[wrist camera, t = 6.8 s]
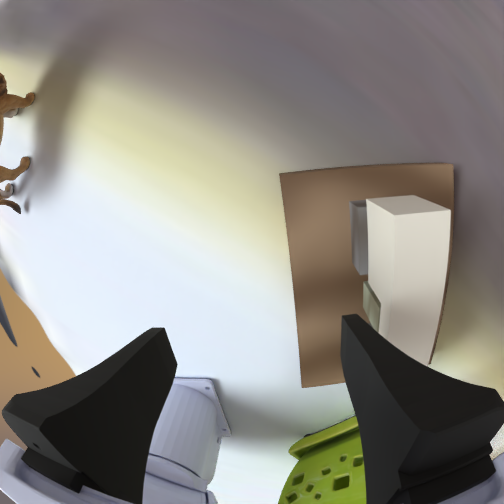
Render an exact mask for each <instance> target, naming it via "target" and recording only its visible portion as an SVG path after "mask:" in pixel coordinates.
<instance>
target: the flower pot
mask: <svg viewBox="0 0 504 504" xmlns="http://www.w3.org/2000/svg"><path fill="white" fill-rule="evenodd" d="M288 452H289V454H290V455H292V456H293V457H295V458H296V459H298V460H299V461H298V462H297V464H296V465H295V467H294V468H293V470H292V472H291V473H290V475H289V477H288V479H287V481H286V483H285V485H284V488H283V490H282V493H281V496H280V499H279V502H278V504H366V483H365V471H364V461H363V452H362V445H361V438H360V431H359V426H358V422H357V418H356V416H354V417H352V418H350V419H348V420H345V421H343V422H341V423H339V424H336V425H334V426H332V427H330V428H327V429H325V430H323V431H320V432H318V433H315V434H313V435H310V434H309V435H305V436H304V438H303V439H301V440H299V441H298V442H296V443H295V444H294V445H293V446H291V448H290V449H289V451H288Z"/></svg>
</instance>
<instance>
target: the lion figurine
mask: <svg viewBox="0 0 504 504" xmlns="http://www.w3.org/2000/svg"><path fill="white" fill-rule="evenodd" d="M6 87H7V86H6V80H5V78H4V75H2V74H1V73H0V145H1V141H2V135H3V126H4V119H3V117H8V118H12V117H13V116H15V115H16V114H17V112H18V108H25V107H27V106H29V105H31V103H32V102H33V101H34V98H35V96H34V93H31V92H30V93H28V94H27V95H26V98H22V97H19V96H17V95H12V94H7V88H6ZM29 164H30V159H29V157H23V158H22V159H21V162H20V166H19V167H17V168H16V169H13V170H11V169H8V168H5V167H3V166H0V183H1V182H3V181H5V180H12V181H13V180H15V179H16V178H17V177H18V176H19V175H20V174H21V173H23V172H24V171H26V170H27V169H28V167H29ZM12 193H13V186H12V185H11V184H10V183H8V184H7V186H6V187H5V191H2V190H1V189H0V205H7V206H10V207H11V208H13V210H15V211H16V212H17V213H19V214H21V208H20V206H19V205H18V204H17V203H15V202H13V201H9V200H5V199H6V198H9V197H10V196H11V195H12Z"/></svg>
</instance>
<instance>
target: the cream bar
mask: <svg viewBox="0 0 504 504" xmlns="http://www.w3.org/2000/svg"><path fill="white" fill-rule="evenodd" d="M366 204H367V223H368V283H369V285H370V286H371V288H372V290H373V291H374V293H375V294H376V296H377V298H378V299H379V301H380V303H381V311H380V323H379V334H380V335H381V336H383V337H384V338H385V339H386V340H387V341H389V342H390V343H391V344H393V345H394V346H395V347H397V348H398V349H400V350H401V351H402V352H404V353H405V354H407V355H408V356H410V357H411V358H413V359H415V360H416V361H418V362H420V363H422V364H423V365H425V366H427V367H428V363H429V360H430V356H431V352H432V348H433V344H434V340H435V336H436V331H437V327H438V322H439V317H440V312H441V306H442V300H443V294H444V288H445V280H446V273H447V264H448V253H449V241H450V221H451V210H449V209H447V208H445V207H442V206H440V205H438V204H435V203H433V202H430V201H428V200H425V199H423V198H420V197H417V196H415V195H408V196H395V197H383V198H371V199H366Z"/></svg>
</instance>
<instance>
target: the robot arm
mask: <svg viewBox="0 0 504 504" xmlns="http://www.w3.org/2000/svg"><path fill="white" fill-rule="evenodd" d="M340 357H341V363H342V369H343V374H344V378H345V382H346V385H347V388H348V391H349V395H350V398H351V401H352V404H353V408H354V411H355V415H356V418H357V422H358V426H359V431H360V438H361V445H362V452H363V461H364V471H365V483H366V504H504V452H503V453H502V454H500V455H499V456H497V457H496V458H495V459H493V460H491V457H490V455H489V454H491V453H492V451H493V449H492V446H491V444H490V441H491V440H492V439H493V437H494V436H495V435H496V433H497V432H498V431H499V429H500V428H501V427H502V425H503V423H504V402H503V400H502V398H501V397H500V395H499V394H498V392H497V391H496V390H495V389H492V388H487V387H483V386H478V385H474V384H470V383H467V382H464V381H460V380H457V379H454V378H452V377H449V376H447V375H444V374H442V373H440V372H438V371H435V370H433V369H431V368H429V367H427V366H425V365H423V364H422V363H420V362H418V361H416V360H415V359H413V358H411V357H410V356H408V355H407V354H405V353H404V352H402V351H401V350H400V349H398V348H397V347H395V346H394V345H393V344H391V343H390V342H389V341H387V340H386V339H385V338H384V337H383V336H381V335H380V334H379V333H378V332H377V331H376V330H375V329H373V328H372V327H371V326H370V325H369V324H368V323H367V322H366V321H365V320H363V319H362V318H361V317H360V316H359V315H358V314H349V315H342V322H341V349H340ZM176 368H177V362H176V359H175V356H174V353H173V351H172V348H171V345H170V342H169V339H168V337H167V334H166V331H165V328H151V329H149V330H147V331H146V332H144V333H143V334H141V335H140V336H139V337H137V338H136V339H134V340H133V341H132V342H130V343H129V344H127V345H126V346H125V347H123V348H122V349H121V350H119V351H118V352H116V353H115V354H113V355H112V356H110V357H109V358H107V359H106V360H104V361H103V362H101V363H100V364H98V365H97V366H95V367H93V368H91V369H90V370H88V371H86V372H84V373H82V374H80V375H78V376H76V377H74V378H71V379H69V380H67V381H64V382H62V383H59V384H57V385H54V386H51V387H47V388H44V389H41V390H37V391H32V392H27V393H22V394H16V395H15V396H14V397H12V399H11V400H10V401H9V402H8V404H7V405H6V406H5V407H4V409H3V410H2V415H3V418H4V419H5V421H6V423H7V424H8V425H9V426H10V428H11V429H12V430H13V431H14V432H15V433H16V435H17V436H18V437H19V438H20V439H21V440H22V441H23V442H24V443H25V444H26V446H27V447H28V448H27V450H26V451H24V450H23V449H22V448H21V447H19V446H17V445H16V444H14V443H13V442H11V441H10V440H8V439H6V440H5V441H4V443H3V444H2V445H1V447H0V490H2V491H3V492H4V493H5V494H6V495H7V496H8V497H10V498H11V499H12V500H13V501H14V502H15V503H17V504H218V502H217V500H216V498H215V496H214V494H213V492H211V491H208V490H206V489H207V485H208V484H209V483H210V482H211V481H212V479H213V477H214V474H215V469H216V464H217V459H218V454H219V449H220V444H221V439H222V436H230V435H231V431H230V428H229V426H228V423H227V421H226V418H225V415H224V413H223V410H222V407H221V405H220V402H219V399H218V397H217V394H216V391H215V388H214V385H213V383H212V381H211V380H209V379H183V378H174V377H175V373H176ZM208 387H209V388H208Z"/></svg>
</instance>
